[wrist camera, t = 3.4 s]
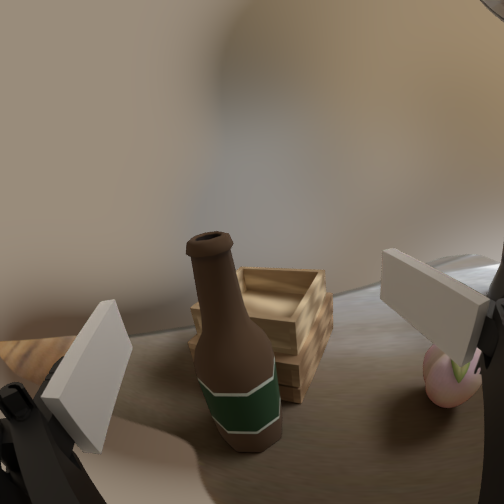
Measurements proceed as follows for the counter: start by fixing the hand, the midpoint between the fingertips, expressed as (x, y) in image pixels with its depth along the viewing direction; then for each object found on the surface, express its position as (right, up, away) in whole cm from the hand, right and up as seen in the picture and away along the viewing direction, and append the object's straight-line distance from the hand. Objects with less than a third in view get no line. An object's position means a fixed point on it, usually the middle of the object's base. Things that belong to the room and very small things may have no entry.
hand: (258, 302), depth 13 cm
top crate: (+2, -7, +28) cm, 29 cm away
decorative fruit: (+24, -17, +13) cm, 32 cm away
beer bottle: (0, -19, +16) cm, 25 cm away
